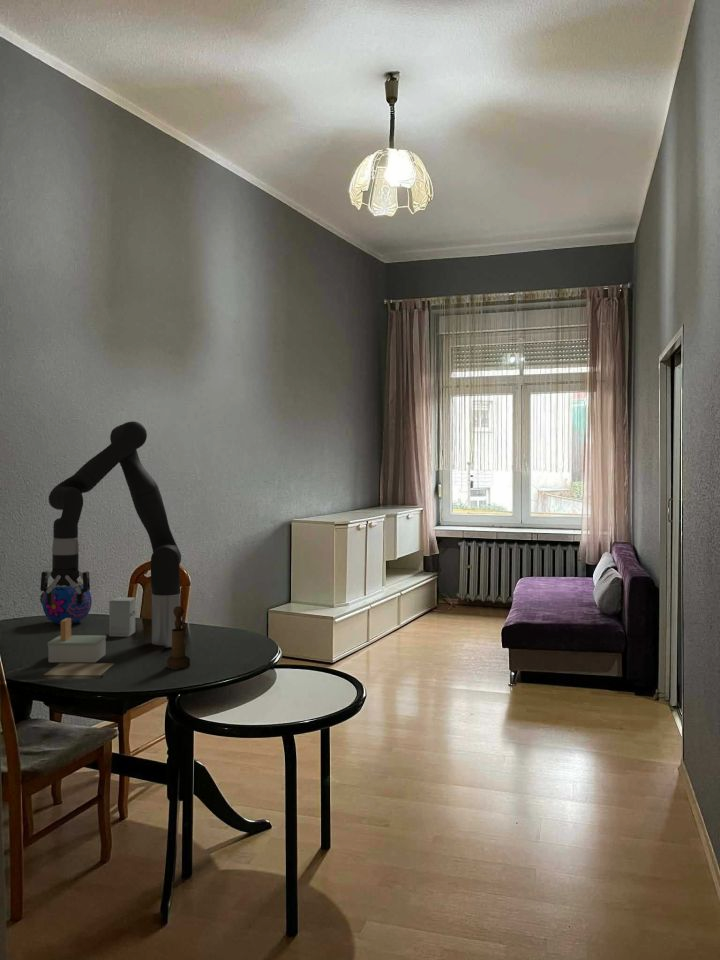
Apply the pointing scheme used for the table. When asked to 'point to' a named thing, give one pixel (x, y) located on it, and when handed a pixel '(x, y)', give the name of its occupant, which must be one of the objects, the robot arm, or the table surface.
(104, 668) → the board
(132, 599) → the supplement box
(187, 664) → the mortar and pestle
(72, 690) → the table surface
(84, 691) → the table surface
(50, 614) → the ceramic pot
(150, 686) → the table surface
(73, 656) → the tub
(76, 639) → the lid
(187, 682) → the table surface
